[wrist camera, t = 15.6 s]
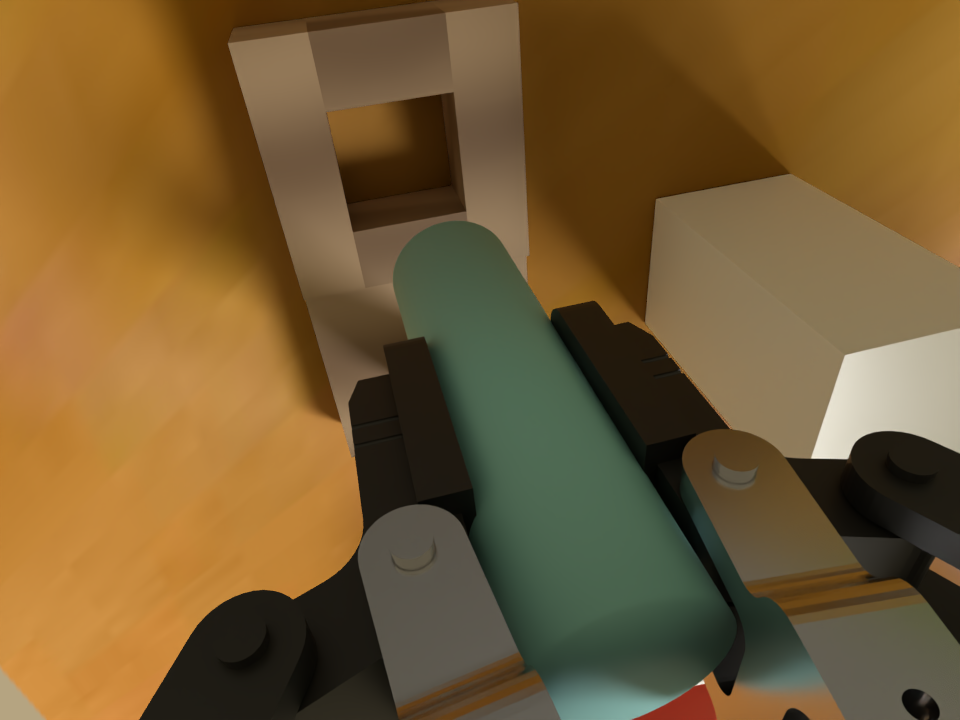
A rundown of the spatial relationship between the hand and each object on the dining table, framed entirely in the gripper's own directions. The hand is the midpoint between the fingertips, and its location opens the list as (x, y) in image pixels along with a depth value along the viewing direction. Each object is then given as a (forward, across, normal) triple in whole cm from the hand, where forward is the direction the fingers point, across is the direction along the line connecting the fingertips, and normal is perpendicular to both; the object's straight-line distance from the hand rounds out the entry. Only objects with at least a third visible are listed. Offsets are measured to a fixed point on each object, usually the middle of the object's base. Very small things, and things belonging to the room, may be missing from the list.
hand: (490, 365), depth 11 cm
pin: (+3, 0, 0) cm, 3 cm away
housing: (+13, -13, +7) cm, 20 cm away
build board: (+13, 0, 0) cm, 13 cm away
